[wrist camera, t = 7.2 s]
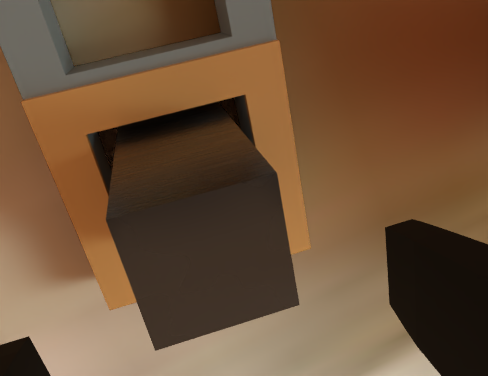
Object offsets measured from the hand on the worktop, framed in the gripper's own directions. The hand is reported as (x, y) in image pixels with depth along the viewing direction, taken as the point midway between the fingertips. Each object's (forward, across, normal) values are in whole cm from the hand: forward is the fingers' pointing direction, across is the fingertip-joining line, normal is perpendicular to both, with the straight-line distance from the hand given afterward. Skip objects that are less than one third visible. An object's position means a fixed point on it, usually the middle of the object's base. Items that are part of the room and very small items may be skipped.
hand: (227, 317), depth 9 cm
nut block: (+9, 0, 0) cm, 9 cm away
